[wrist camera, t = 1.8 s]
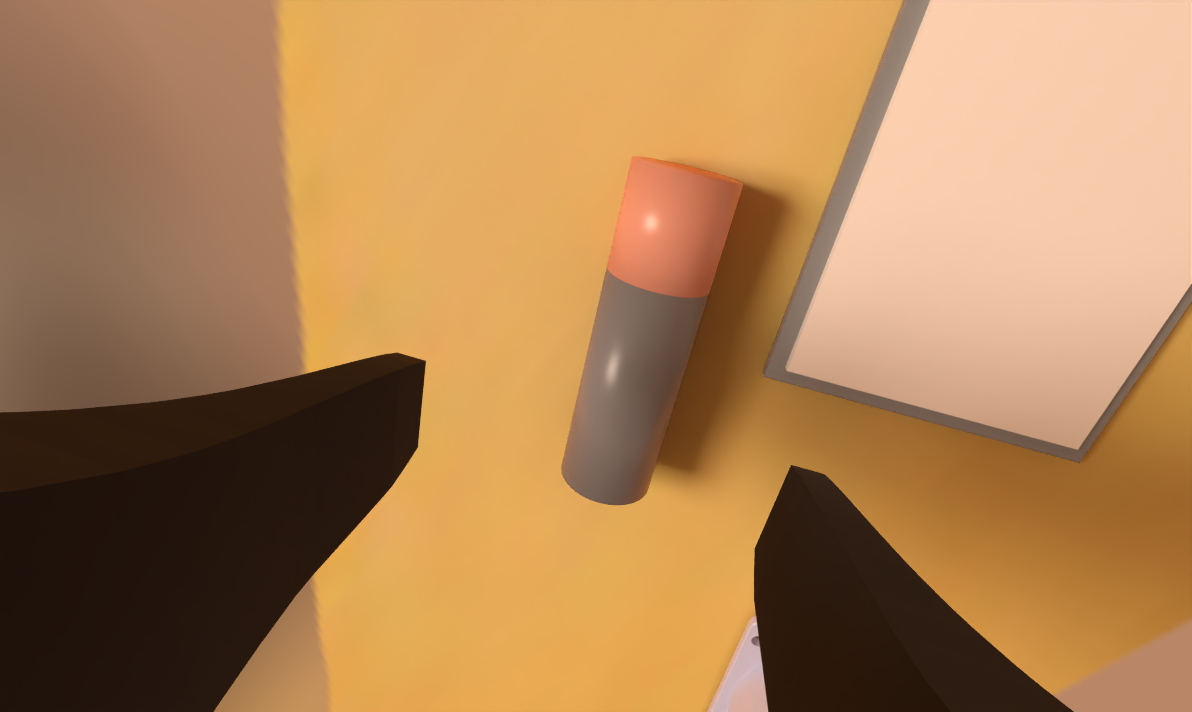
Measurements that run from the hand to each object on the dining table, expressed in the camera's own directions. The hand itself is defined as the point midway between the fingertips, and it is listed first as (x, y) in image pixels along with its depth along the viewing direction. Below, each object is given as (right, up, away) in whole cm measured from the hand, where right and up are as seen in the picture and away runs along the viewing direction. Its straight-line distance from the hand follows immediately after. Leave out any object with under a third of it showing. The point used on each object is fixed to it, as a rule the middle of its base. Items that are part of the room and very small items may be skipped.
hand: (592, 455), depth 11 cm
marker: (+2, +3, +7) cm, 8 cm away
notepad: (+11, +6, +4) cm, 14 cm away
